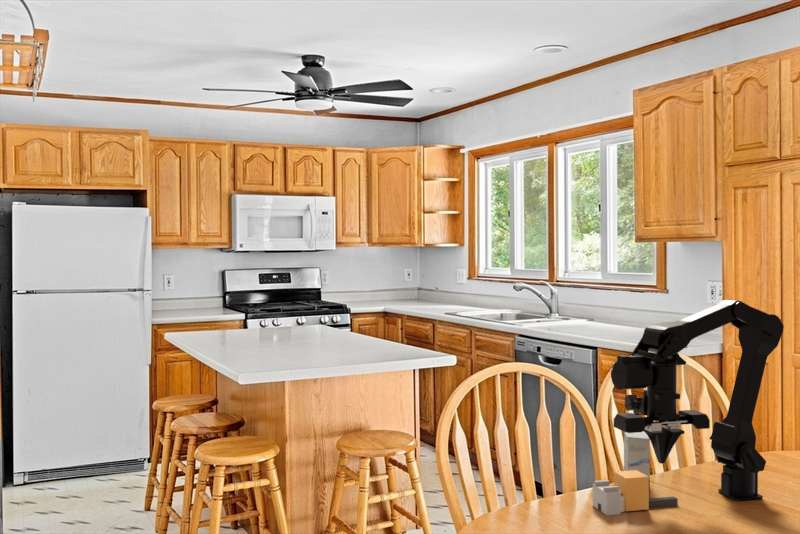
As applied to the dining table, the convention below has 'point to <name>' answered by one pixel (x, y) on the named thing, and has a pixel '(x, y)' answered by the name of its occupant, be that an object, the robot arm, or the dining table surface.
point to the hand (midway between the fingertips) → (661, 462)
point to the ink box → (637, 453)
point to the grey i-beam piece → (607, 497)
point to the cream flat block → (622, 503)
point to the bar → (659, 502)
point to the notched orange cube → (633, 489)
